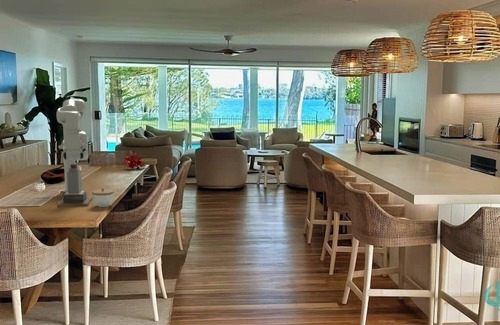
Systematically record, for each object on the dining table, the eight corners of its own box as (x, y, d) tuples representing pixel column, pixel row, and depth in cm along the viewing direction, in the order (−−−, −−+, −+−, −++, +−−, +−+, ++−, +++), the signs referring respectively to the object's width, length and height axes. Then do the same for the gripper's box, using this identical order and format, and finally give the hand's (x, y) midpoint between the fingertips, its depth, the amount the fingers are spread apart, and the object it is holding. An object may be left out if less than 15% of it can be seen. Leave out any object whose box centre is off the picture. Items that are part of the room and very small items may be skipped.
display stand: (63, 200, 314) (63, 189, 313) (92, 199, 317) (91, 189, 316) (57, 206, 294) (56, 196, 293) (87, 205, 297) (87, 195, 297)
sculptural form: (150, 157, 464) (131, 149, 468) (141, 152, 440) (121, 145, 445) (143, 176, 462) (124, 168, 467) (132, 172, 438) (112, 164, 443)
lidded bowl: (113, 207, 294) (112, 189, 292) (91, 208, 291) (91, 190, 290) (114, 203, 306) (114, 186, 304) (93, 203, 303) (93, 186, 302)
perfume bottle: (81, 191, 308) (80, 163, 306) (78, 193, 302) (77, 165, 299) (71, 191, 308) (69, 163, 306) (67, 193, 301) (66, 165, 299)
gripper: (87, 131, 305) (88, 158, 307) (59, 131, 302) (60, 158, 304) (85, 132, 298) (86, 159, 300) (56, 132, 295) (57, 160, 297)
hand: (73, 159), depth 302 cm, fingers open, 9 cm apart
